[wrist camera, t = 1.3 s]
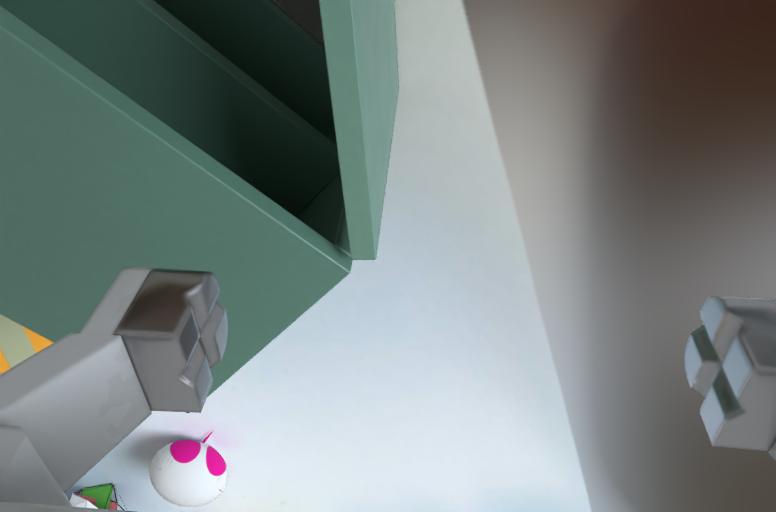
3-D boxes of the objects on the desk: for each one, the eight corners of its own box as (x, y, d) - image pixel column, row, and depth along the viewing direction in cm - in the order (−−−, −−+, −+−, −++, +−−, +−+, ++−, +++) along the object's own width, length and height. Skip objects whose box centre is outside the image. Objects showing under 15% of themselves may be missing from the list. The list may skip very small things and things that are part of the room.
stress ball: (246, 425, 65) (251, 455, 59) (209, 492, 65) (210, 529, 59) (178, 398, 63) (176, 427, 56) (140, 467, 63) (134, 503, 56)
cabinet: (79, -165, 31) (-201, -115, 17) (382, 96, 38) (350, 273, 25) (-10, 30, 37) (-264, 176, 24) (264, 221, 44) (188, 414, 31)
